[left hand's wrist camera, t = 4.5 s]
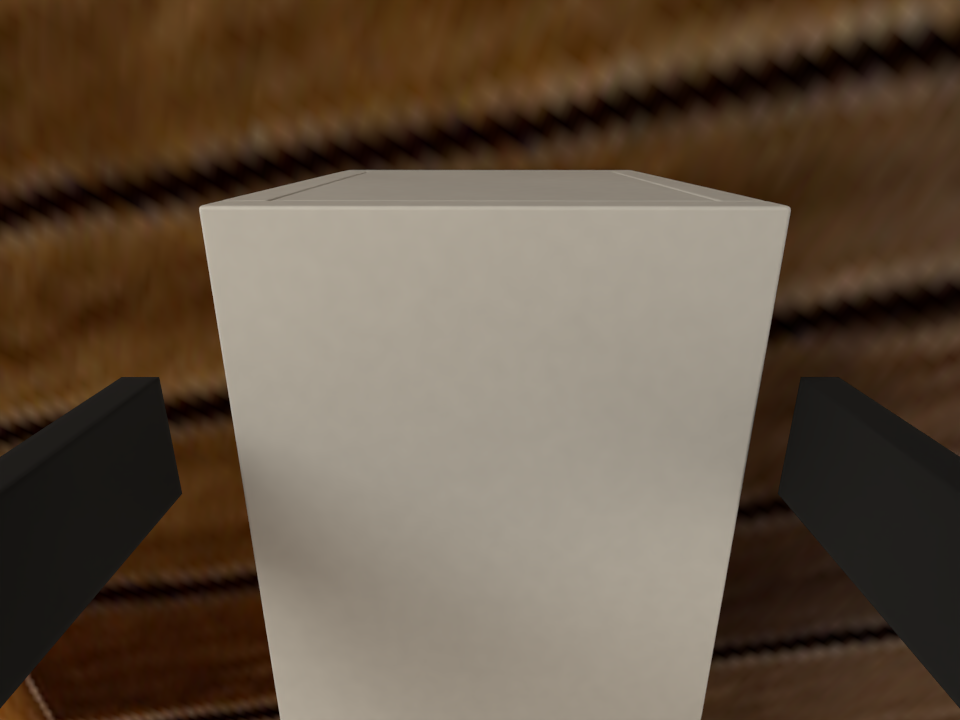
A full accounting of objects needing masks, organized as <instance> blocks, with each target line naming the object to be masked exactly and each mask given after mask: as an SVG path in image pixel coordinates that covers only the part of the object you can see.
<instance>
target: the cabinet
mask: <svg viewBox="0 0 960 720" xmlns="http://www.w3.org/2000/svg"><path fill="white" fill-rule="evenodd" d="M199 211H200V217H201V224H202V230H203V236H204V243H205V249H206V255H207V261H208V268H209V274H210V280H211V286H212V293H213V299H214V305H215V311H216V318H217V324H218V330H219V337H220V343H221V349H222V355H223V362H224V368H225V374H226V380H227V387H228V393H229V399H230V406H231V412H232V418H233V424H234V431H235V437H236V443H237V449H238V456H239V462H240V468H241V474H242V481H243V487H244V493H245V500H246V506H247V512H248V518H249V525H250V531H251V537H252V543H253V550H254V556H255V562H256V569H257V575H258V581H259V587H260V594H261V600H262V606H263V612H264V619H265V625H266V631H267V637H268V644H269V650H270V656H271V663H272V669H273V675H274V681H275V688H276V694H277V700H278V706H279V713H280V719H281V720H701V716H702V710H703V705H704V699H705V693H706V688H707V682H708V676H709V671H710V665H711V660H712V654H713V648H714V643H715V637H716V631H717V626H718V620H719V614H720V609H721V603H722V597H723V592H724V586H725V580H726V575H727V569H728V563H729V558H730V552H731V546H732V541H733V535H734V529H735V524H736V518H737V512H738V507H739V501H740V495H741V490H742V484H743V478H744V473H745V467H746V461H747V456H748V450H749V444H750V439H751V433H752V427H753V422H754V416H755V410H756V405H757V399H758V393H759V388H760V382H761V376H762V371H763V365H764V359H765V354H766V348H767V342H768V337H769V331H770V325H771V320H772V314H773V308H774V303H775V297H776V291H777V286H778V280H779V275H780V269H781V263H782V258H783V252H784V246H785V241H786V235H787V229H788V224H789V218H790V212H791V209H790V207H788V206H786V205H781V204H777V203H772V202H768V201H763V200H759V199H754V198H750V197H746V196H741V195H737V194H732V193H728V192H724V191H719V190H715V189H711V188H706V187H702V186H697V185H693V184H689V183H684V182H680V181H676V180H671V179H667V178H663V177H658V176H654V175H649V174H645V173H641V172H636V171H632V170H348V171H343V172H338V173H334V174H330V175H326V176H322V177H318V178H314V179H309V180H305V181H301V182H297V183H293V184H289V185H284V186H280V187H276V188H272V189H268V190H264V191H260V192H255V193H251V194H247V195H243V196H239V197H235V198H230V199H226V200H223V201H219V202H215V203H210V204H206V205H203V206H200V209H199Z"/></svg>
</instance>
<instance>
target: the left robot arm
mask: <svg viewBox="0 0 960 720" xmlns="http://www.w3.org/2000/svg"><path fill="white" fill-rule="evenodd" d="M181 494H182V491H181V486H180V481H179V476H178V471H177V465H176V460H175V455H174V450H173V445H172V440H171V435H170V430H169V425H168V420H167V415H166V410H165V405H164V400H163V394H162V389H161V384H160V379H159V377H121V378H120V379H118V380H117V381H115V382H114V383H112V384H111V385H109V386H108V387H106V388H104V389H103V390H101V391H100V392H98V393H97V394H95V395H94V396H92V397H91V398H89V399H88V400H86V401H85V402H83V403H82V404H80V405H79V406H77V407H76V408H74V409H72V410H71V411H69V412H68V413H66V414H65V415H63V416H62V417H60V418H59V419H57V420H56V421H54V422H53V423H51V424H50V425H48V426H47V427H45V428H44V429H42V430H41V431H39V432H37V433H36V434H34V435H33V436H31V437H30V438H28V439H27V440H25V441H24V442H22V443H21V444H19V445H18V446H16V447H15V448H13V449H12V450H10V451H9V452H7V453H6V454H4V455H2V456H1V457H0V708H1V707H2V706H3V704H4V703H5V702H6V701H7V700H8V699H9V697H10V696H11V695H12V694H13V693H14V691H15V690H16V689H17V688H18V687H19V686H20V684H21V683H22V682H23V681H24V680H25V678H26V677H27V676H28V675H29V674H30V673H31V671H32V670H33V669H34V668H35V667H36V665H37V664H38V663H39V662H40V661H41V660H42V658H43V657H44V656H45V655H46V654H47V652H48V651H49V650H50V649H51V648H52V647H53V645H54V644H55V643H56V642H57V641H58V639H59V638H60V637H61V636H62V635H63V634H64V632H65V631H66V630H67V629H68V628H69V626H70V625H71V624H72V623H73V622H74V621H75V619H76V618H77V617H78V616H79V615H80V613H81V612H82V611H83V610H84V609H85V608H86V606H87V605H88V604H89V603H90V602H91V601H92V599H93V598H94V597H95V596H96V595H97V593H98V592H99V591H100V590H101V589H102V588H103V586H104V585H105V584H106V583H107V582H108V580H109V579H110V578H111V577H112V576H113V575H114V573H115V572H116V571H117V570H118V569H119V567H120V566H121V565H122V564H123V563H124V562H125V560H126V559H127V558H128V557H129V556H130V554H131V553H132V552H133V551H134V550H135V549H136V547H137V546H138V545H139V544H140V543H141V541H142V540H143V539H144V538H145V537H146V536H147V534H148V533H149V532H150V531H151V530H152V528H153V527H154V526H155V525H156V524H157V523H158V521H159V520H160V519H161V518H162V517H163V515H164V514H165V513H166V512H167V511H168V510H169V508H170V507H171V506H172V505H173V504H174V503H175V501H176V500H177V499H178V498H179V497H180V495H181ZM778 494H779V495H780V497H781V498H782V499H783V500H784V501H785V503H786V504H787V505H788V506H789V507H790V508H791V510H792V511H793V512H794V513H795V514H796V515H797V517H798V518H799V519H800V520H801V521H802V523H803V524H804V525H805V526H806V527H807V528H808V530H809V531H810V532H811V533H812V534H813V536H814V537H815V538H816V539H817V540H818V541H819V543H820V544H821V545H822V546H823V547H824V549H825V550H826V551H827V552H828V553H829V554H830V556H831V557H832V558H833V559H834V560H835V562H836V563H837V564H838V565H839V566H840V567H841V569H842V570H843V571H844V572H845V573H846V575H847V576H848V577H849V578H850V579H851V580H852V582H853V583H854V584H855V585H856V586H857V588H858V589H859V590H860V591H861V592H862V593H863V595H864V596H865V597H866V598H867V599H868V601H869V602H870V603H871V604H872V605H873V606H874V608H875V609H876V610H877V611H878V612H879V613H880V615H881V616H882V617H883V618H884V619H885V621H886V622H887V623H888V624H889V625H890V626H891V628H892V629H893V630H894V631H895V632H896V634H897V635H898V636H899V637H900V638H901V639H902V641H903V642H904V643H905V644H906V645H907V647H908V648H909V649H910V650H911V651H912V652H913V654H914V655H915V656H916V657H917V658H918V660H919V661H920V662H921V663H922V664H923V665H924V667H925V668H926V669H927V670H928V671H929V673H930V674H931V675H932V676H933V677H934V678H935V680H936V681H937V682H938V683H939V684H940V686H941V687H942V688H943V689H944V690H945V691H946V693H947V694H948V695H949V696H950V697H951V699H952V700H953V701H954V702H955V703H956V704H957V706H958V707H959V708H960V457H959V456H958V455H956V454H954V453H953V452H951V451H950V450H948V449H947V448H945V447H944V446H942V445H941V444H939V443H938V442H936V441H935V440H933V439H932V438H930V437H929V436H927V435H926V434H924V433H923V432H921V431H919V430H918V429H916V428H915V427H913V426H912V425H910V424H909V423H907V422H906V421H904V420H903V419H901V418H900V417H898V416H897V415H895V414H894V413H892V412H891V411H889V410H888V409H886V408H884V407H883V406H881V405H880V404H878V403H877V402H875V401H874V400H872V399H871V398H869V397H868V396H866V395H865V394H863V393H862V392H860V391H859V390H857V389H856V388H854V387H852V386H851V385H849V384H848V383H846V382H845V381H843V380H842V379H840V378H839V377H801V379H800V384H799V389H798V394H797V400H796V405H795V410H794V415H793V420H792V425H791V430H790V435H789V440H788V445H787V450H786V455H785V460H784V465H783V471H782V476H781V481H780V486H779V491H778Z"/></svg>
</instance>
